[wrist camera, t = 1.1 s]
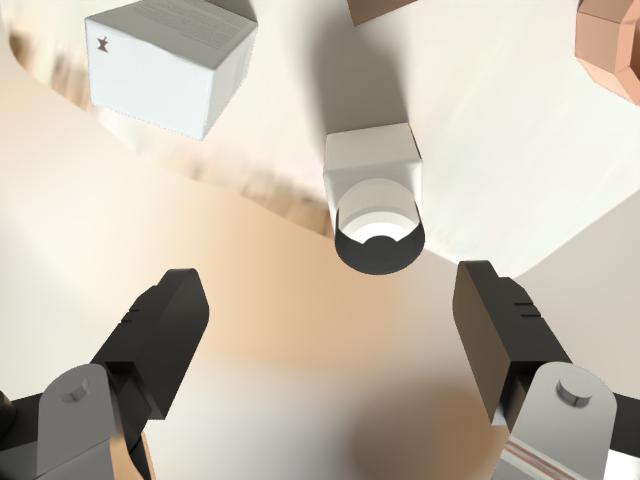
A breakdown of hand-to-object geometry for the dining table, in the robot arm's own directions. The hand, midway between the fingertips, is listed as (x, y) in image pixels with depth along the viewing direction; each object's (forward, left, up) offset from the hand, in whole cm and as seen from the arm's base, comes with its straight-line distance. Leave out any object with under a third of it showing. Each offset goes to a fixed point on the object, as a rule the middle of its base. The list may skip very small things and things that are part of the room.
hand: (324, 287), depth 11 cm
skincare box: (-6, -8, -23) cm, 24 cm away
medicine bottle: (+8, 0, -23) cm, 24 cm away
